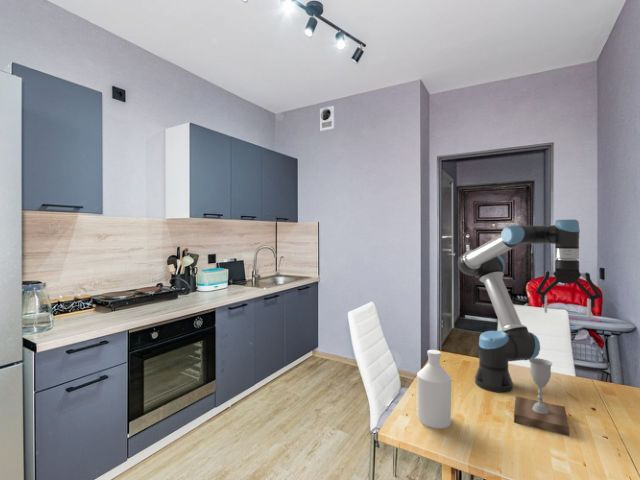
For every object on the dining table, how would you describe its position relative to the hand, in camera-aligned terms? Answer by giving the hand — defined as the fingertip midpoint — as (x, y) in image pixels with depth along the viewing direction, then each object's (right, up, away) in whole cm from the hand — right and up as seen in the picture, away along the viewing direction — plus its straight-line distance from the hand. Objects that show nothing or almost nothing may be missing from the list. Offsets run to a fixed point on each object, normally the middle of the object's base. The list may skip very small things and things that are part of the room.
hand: (566, 314), depth 131 cm
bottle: (-54, -37, -7) cm, 66 cm away
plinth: (-15, -37, -7) cm, 40 cm away
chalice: (-15, -34, -7) cm, 38 cm away
